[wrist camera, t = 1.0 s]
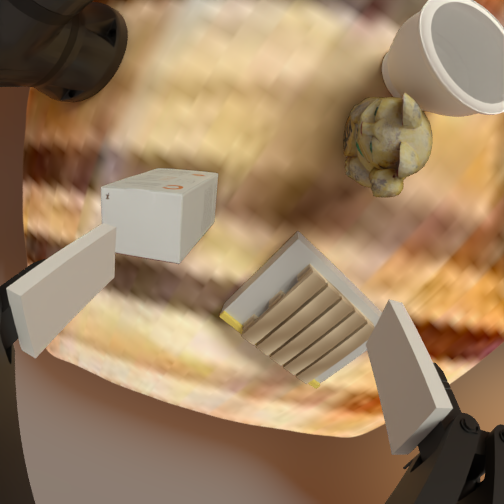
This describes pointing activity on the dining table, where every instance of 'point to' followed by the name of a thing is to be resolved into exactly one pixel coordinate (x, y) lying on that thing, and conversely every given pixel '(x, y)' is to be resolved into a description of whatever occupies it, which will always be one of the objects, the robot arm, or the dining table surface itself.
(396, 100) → the decorative figurine
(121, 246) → the small box
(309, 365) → the pallet
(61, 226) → the dining table surface
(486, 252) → the dining table surface
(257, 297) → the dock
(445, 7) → the jar
